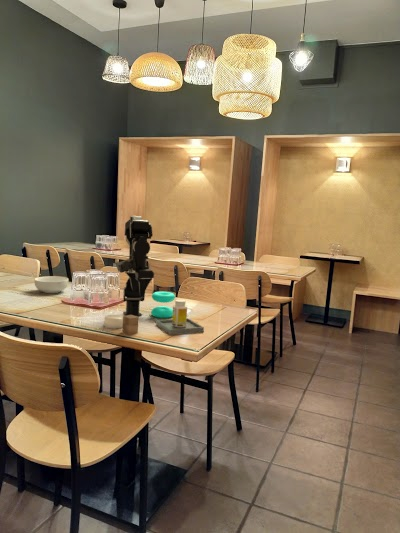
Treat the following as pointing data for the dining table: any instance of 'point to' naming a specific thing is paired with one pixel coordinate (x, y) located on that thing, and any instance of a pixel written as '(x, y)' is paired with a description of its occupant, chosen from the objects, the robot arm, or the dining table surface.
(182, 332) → the slate tray
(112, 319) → the cream rounded block
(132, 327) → the walnut block
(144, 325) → the dining table surface
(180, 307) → the supplement bottle
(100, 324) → the dining table surface
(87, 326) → the dining table surface
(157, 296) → the donuts
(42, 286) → the cereal bowl
